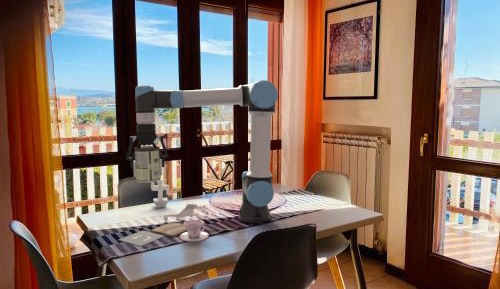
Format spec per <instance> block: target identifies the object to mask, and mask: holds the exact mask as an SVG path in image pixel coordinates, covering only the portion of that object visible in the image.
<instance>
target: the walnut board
mask: <svg viewBox="0 0 500 289" xmlns="http://www.w3.org/2000/svg"><path fill="white" fill-rule="evenodd" d="M150 232H151V233H155V234H159V235H163V236H167V237H171V238H175V237H177V236H180V235H181V234H182V233H185V232H188V230H187V228H186V226H185V225H184V224H183V223H181V222H174V221H170V222H168V223H166V224H163V225H161V226H158V227H155V228H153V229H151V230H150Z"/></svg>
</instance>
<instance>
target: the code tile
mask: <svg viewBox="0 0 500 289" xmlns="http://www.w3.org/2000/svg"><path fill="white" fill-rule="evenodd" d="M164 237H165V235H162V234H158V233H154V232H151V231H147V230H141V231H138V232H135V233H132V234H130V235H126V236H124V237H122V238H119V239H118V241H121V242H123V243H127V244H131V245H135V246H138V247H143V246H145V245H147V244H150V243H152V242H155V241H157V240H158V239H162V238H164Z"/></svg>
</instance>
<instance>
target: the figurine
mask: <svg viewBox="0 0 500 289" xmlns="http://www.w3.org/2000/svg"><path fill="white" fill-rule="evenodd" d="M156 182H157V184H156V185H155V182H150V189H151V191H153V192H157V197H156V198H153V199H152V200H153V203H154V204H155V207H156V208H166V206H167V205H168V202H169V199H168V197H164V194H163V191H165V192H166V195H168V196H169V195H170V185H169V184H163V182H164V179H163V178H161V180H159V181H156Z"/></svg>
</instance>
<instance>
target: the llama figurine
mask: <svg viewBox="0 0 500 289" xmlns="http://www.w3.org/2000/svg"><path fill="white" fill-rule="evenodd" d="M196 209H199V210H201V211H202V212H203V213H205V214H206V215H209V214H210V213H209V211H208V210H205V209H204V208H202V206H200V205H198V204H197V203H190V202H188V203H186V205H185V207H184V208H182V209H181V211H179V212H177V213H175V212H171V213H165V214H164V215H163V220H164V222H165V223H167V222H168V220H169V219H168V218H169V217H173V218H186V217H190V218H192V217H197V218H201V219H204V220H207V219H208V218H207V217H206V216H203V215H200V214H197V213H194V212H195V211H194V210H196Z"/></svg>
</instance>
